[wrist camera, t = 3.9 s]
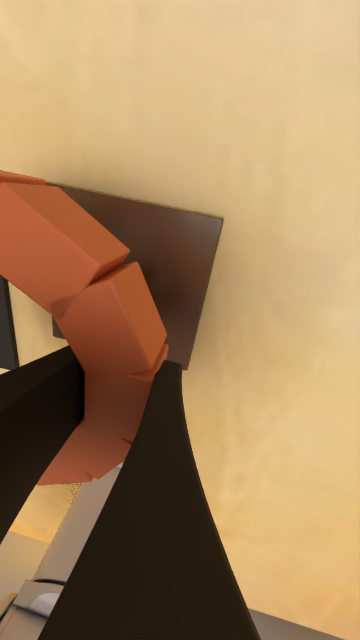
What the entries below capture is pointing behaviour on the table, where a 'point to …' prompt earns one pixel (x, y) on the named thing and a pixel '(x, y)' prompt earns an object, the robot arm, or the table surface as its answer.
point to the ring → (85, 317)
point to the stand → (160, 257)
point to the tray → (6, 330)
